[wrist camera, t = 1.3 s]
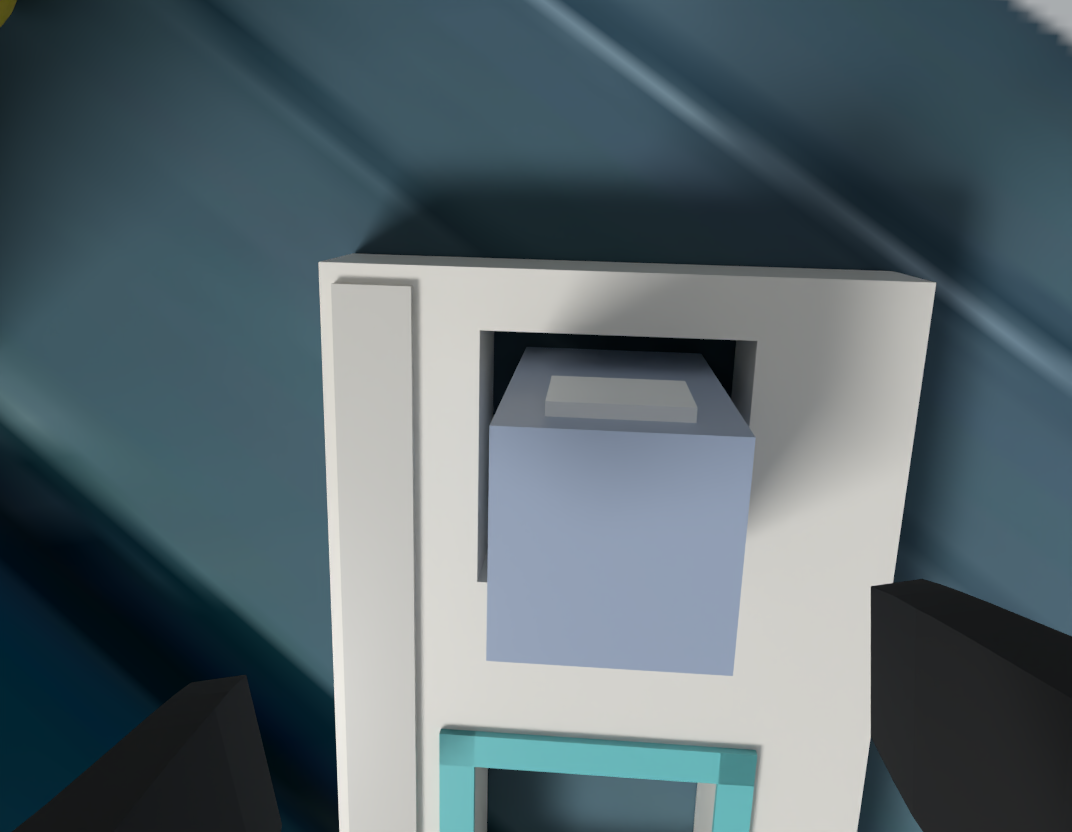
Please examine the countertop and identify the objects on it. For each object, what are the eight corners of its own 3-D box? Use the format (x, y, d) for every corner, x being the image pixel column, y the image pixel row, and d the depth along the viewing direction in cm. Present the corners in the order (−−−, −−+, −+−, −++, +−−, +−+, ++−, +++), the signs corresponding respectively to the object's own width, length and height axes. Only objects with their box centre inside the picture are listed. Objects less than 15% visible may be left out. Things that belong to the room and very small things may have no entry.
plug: (701, 342, 19) (756, 421, 13) (688, 517, 21) (732, 675, 14) (526, 336, 20) (489, 410, 13) (522, 509, 21) (485, 661, 14)
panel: (892, 271, 19) (939, 283, 16) (805, 939, 23) (831, 1033, 21) (353, 253, 19) (315, 262, 17) (370, 904, 24) (343, 990, 21)
